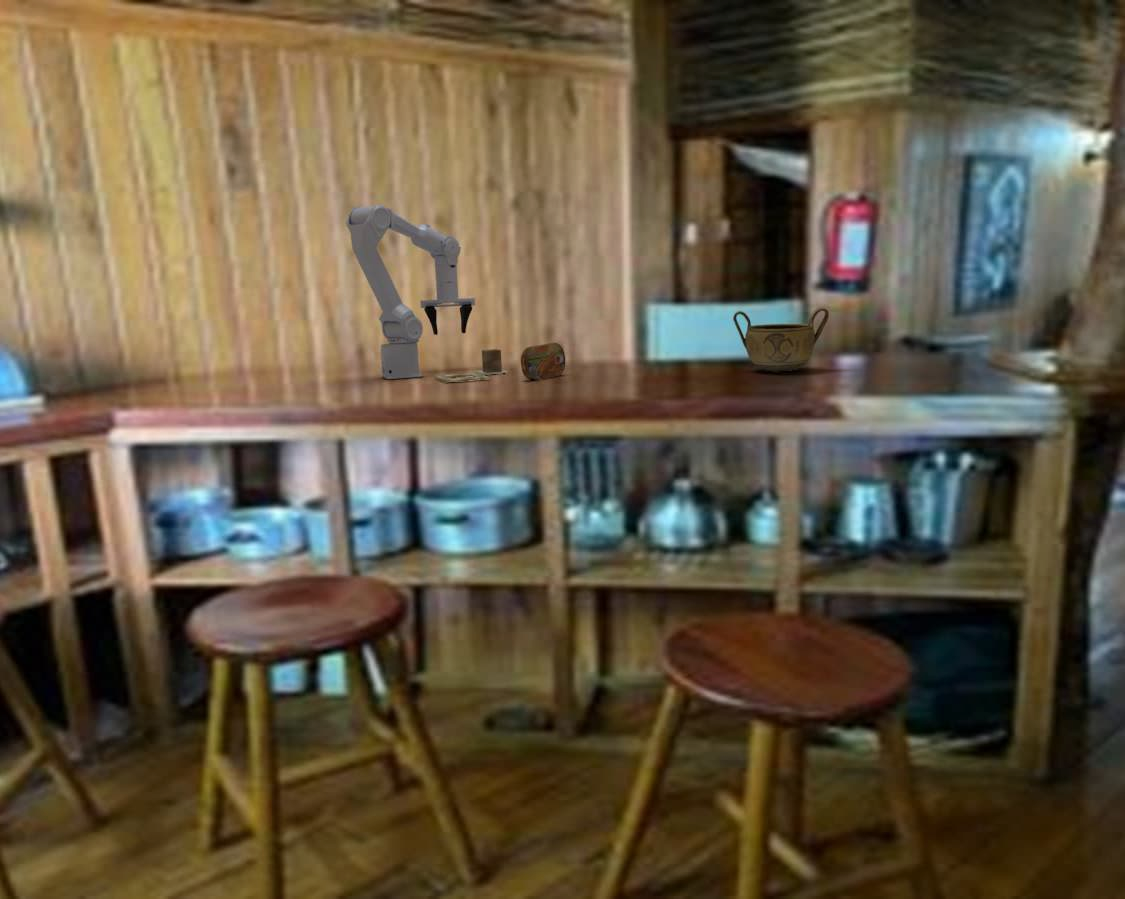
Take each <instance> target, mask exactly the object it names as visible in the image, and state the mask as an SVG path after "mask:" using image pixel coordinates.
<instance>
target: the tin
mask: <svg viewBox="0 0 1125 899" xmlns="http://www.w3.org/2000/svg"><path fill="white" fill-rule="evenodd" d="M520 367H521V368H520V369H521V371H522V374H523V375H524V377H525V378H526V379H528V380H530V379H532V380H531V381H541V380H540V379H543V380H546V379H545V378H547V379H551V378H550V377H552V378H556V377H555V376H557V377H560V376H561V375H562V373H563V372H564V371H565V367H566V354H565V350H564V348H563V346H562V345H560V344H559V343H557V342H550V343H545V344H539V345H531V346H527V347H526V348H524V350H523V351H522V353H521V356H520Z"/></svg>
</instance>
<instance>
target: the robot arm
mask: <svg viewBox="0 0 1125 899" xmlns="http://www.w3.org/2000/svg"><path fill="white" fill-rule="evenodd" d="M345 224H346V227H347V228H348V230H349V232H350V240H351V248H352V251H353V254H354V256H355V258H356V259H357V262H358V264H359V265H360V268H361V269H362V272H363V275H364V276H365V278H366V280H367V282H368V285H369V286H370V288H371V291H372V292H373V295H374V297H375V298H376V301H377V303H378V305H379V307H380V309H381V311H382V312H381V314H380V315H379V318H378V320H379V321H380V324H381V330H382V335H383V336H384V338H386V339H387V340H386V341H387V343H383V344H381V346H380V359H381V361H380V362H381V373H382V375H381V376H383V377H382V378H384V379H385V378H386V379H385V380H395V379H397V380H399V379H410V378H422V376H423V377H424V375H423V374H422V373H420V364H419V362H420V361H419V348H418V343H419V342H420V340H419V339H421V337H422V334H423V330H424V328H423V324H422V321H421V319H419V318H418V316H416V315H415V313H414V311H413V310H412V309H411V308H410V307H408V306H407V305H405V304H404V302H403V301H402V299H401V297H400V294H399V292H398V290H397V288H396V286H395V284H394V282H393V280H392V277H391V275H390V273H389V272H388V269H387V267H386V265H385V262H384V260H383V258H382V256H381V254H380V252H379V250H378V245H379V243H380V241H381V240H382V239H383V237H384V236H385V234H386V233H387V231H388V229H389V230H391V231H393V232H396V233H398V234H401V235H403V236H405V237H408V238H409V239H410V241H411V243H412V245H414V246H416V247H417V248H419V249H422V250H423V251H426V252H428V253H429V255H430V256H431V258H433V259H434V267H435V268H434V270H435V271H434V272H435V290H436V299H426V300H420V301H419V302H420V309H423V310H424V312H425V314H426V316H427V318H428V320H429V323H430V326H431V328H432V333H433V335H435V336H437V335H438V333H439V332H438V323H437V322H438V321H437V316H438V315H437V314H438V310H437V309H436V308H443V307H444V308H447V307H459V314H460V329H461V330H460V332H461V334H466V331H467V326H468V322H469V319H470V315H471V313H472V310H473V306H476V298H475V297H469V298H468V297H467V298H465V297H464V298H459V287H458V286H459V285H458V262H459V255H460V254H461V250H462V249H461V246H460V245H459V241H458V240H457V239H456V238H455V237H453V236H445V235H444V233H443V232H442V231H437V230H434V229H432V228H431V225H430V224H428V223H422V224H418V225H416V224H414V223H412V222H411V221H409V220H407V219H406V218H404V217H402V216H401V215H399V214H397V213H396V212H394V210H392V209H391V208H388V207H386V206H385V205H383V204H376V205H372V206H363V207H361V206H357V207H356V206H355V207H354V208H352V209H351V210H350V211H349V214H348V216H347V219H346V223H345ZM449 303H451V304H449ZM452 303H453V304H452Z"/></svg>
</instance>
